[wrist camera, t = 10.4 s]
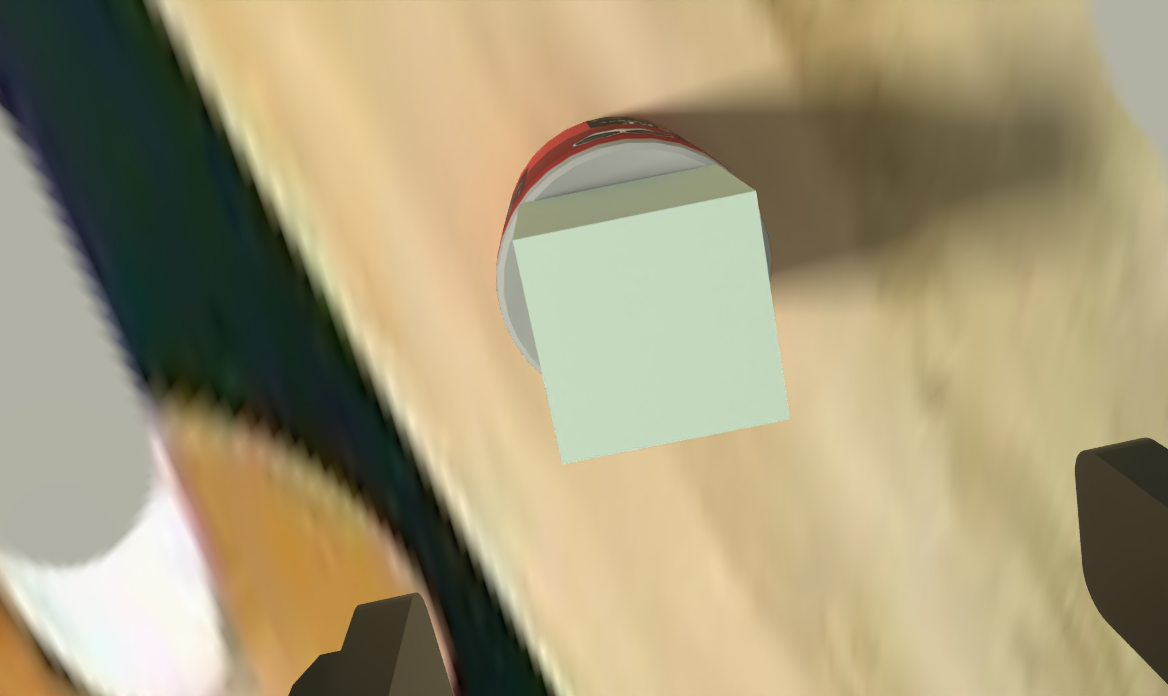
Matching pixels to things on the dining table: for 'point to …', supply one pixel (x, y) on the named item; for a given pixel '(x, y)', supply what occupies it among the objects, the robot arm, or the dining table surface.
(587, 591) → the dining table surface
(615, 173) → the canned food
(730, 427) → the sage block
